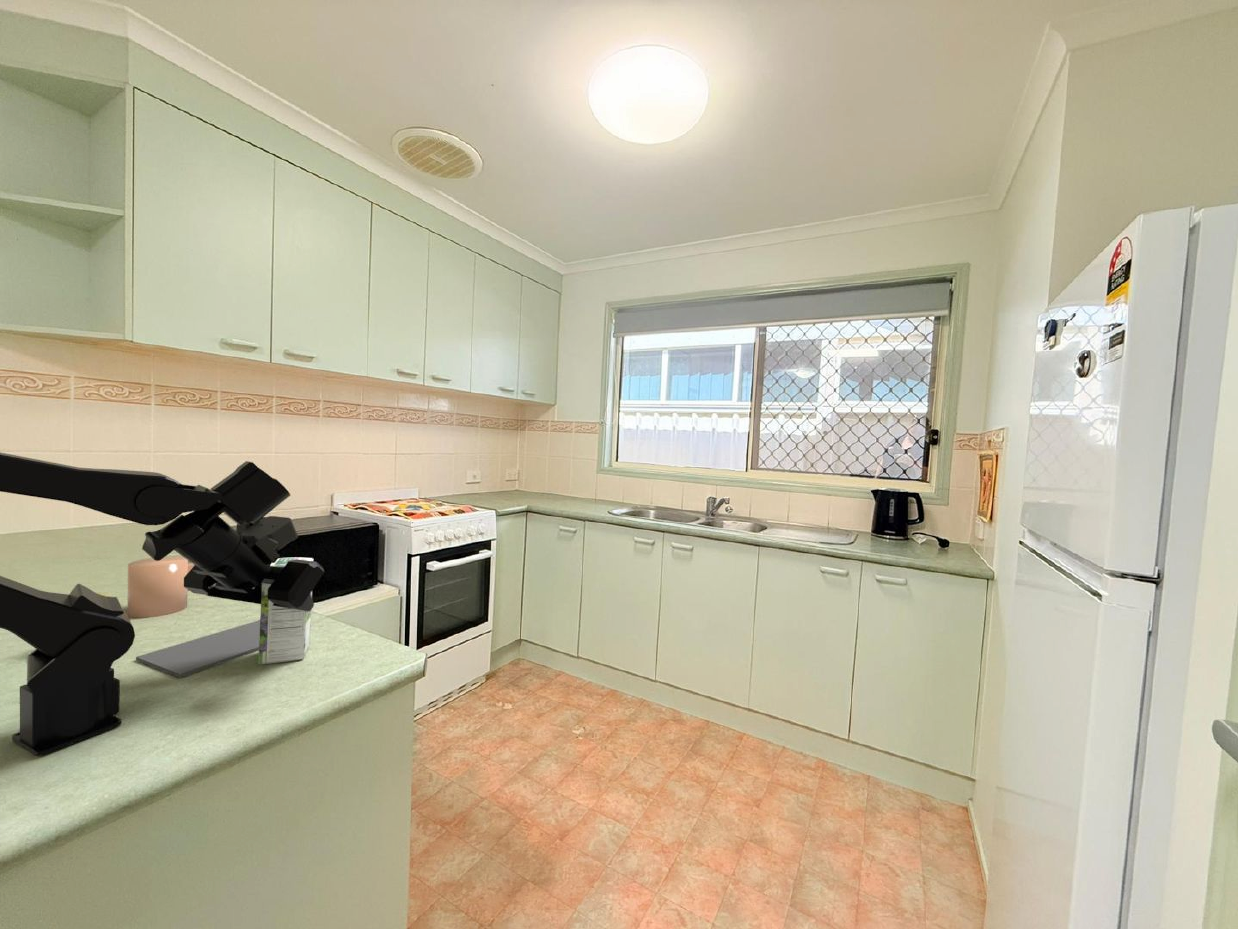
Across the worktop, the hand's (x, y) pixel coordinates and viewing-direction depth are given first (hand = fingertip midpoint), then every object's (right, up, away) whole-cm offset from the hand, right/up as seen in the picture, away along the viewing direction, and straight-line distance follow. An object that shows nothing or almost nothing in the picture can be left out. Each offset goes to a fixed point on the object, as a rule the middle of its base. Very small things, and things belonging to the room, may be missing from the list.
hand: (289, 605), depth 74 cm
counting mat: (-11, -7, +2) cm, 13 cm away
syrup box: (-1, -8, 0) cm, 8 cm away
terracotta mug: (-34, -5, +15) cm, 38 cm away
